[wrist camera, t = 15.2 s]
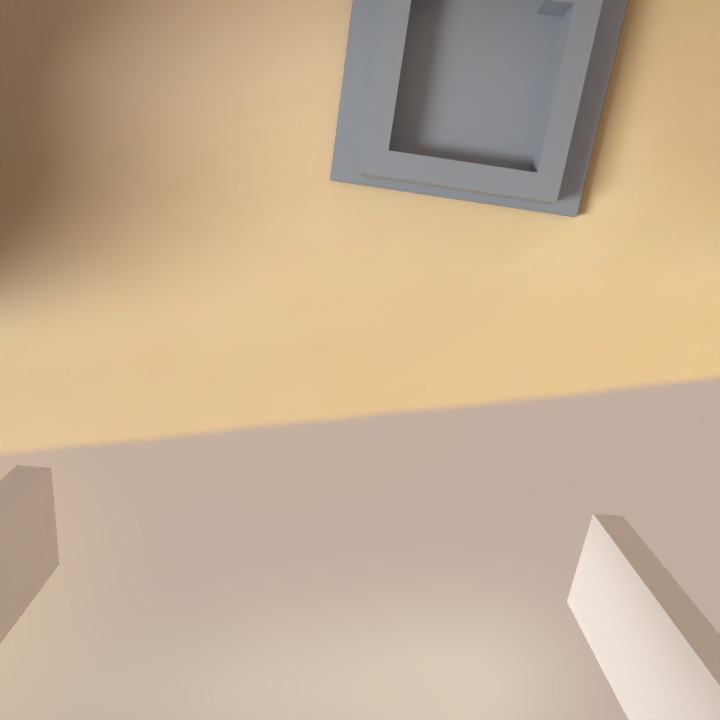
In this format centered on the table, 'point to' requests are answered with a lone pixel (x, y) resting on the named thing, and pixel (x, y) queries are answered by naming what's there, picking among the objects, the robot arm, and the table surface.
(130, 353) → the table surface
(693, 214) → the table surface
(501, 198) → the keyhole board
